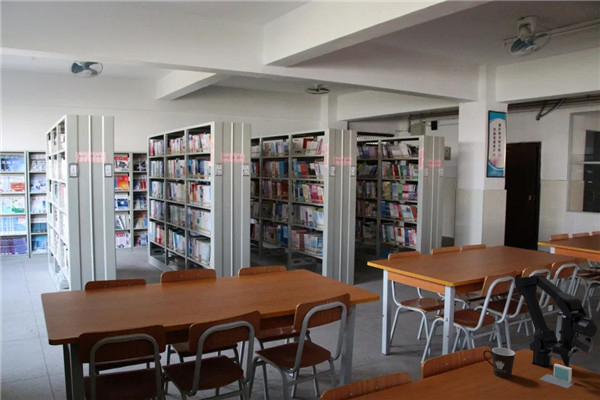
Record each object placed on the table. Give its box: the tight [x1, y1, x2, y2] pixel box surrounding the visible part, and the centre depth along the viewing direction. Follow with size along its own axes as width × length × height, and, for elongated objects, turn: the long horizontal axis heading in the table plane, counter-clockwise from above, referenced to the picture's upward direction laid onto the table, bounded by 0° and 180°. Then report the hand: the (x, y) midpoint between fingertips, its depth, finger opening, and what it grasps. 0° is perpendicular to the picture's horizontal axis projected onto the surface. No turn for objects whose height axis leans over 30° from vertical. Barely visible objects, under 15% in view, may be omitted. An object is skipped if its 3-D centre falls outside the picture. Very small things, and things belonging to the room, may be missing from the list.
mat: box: [539, 373, 576, 389], centre depth 187 cm, size 10×8×1 cm
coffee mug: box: [482, 347, 516, 379], centre depth 193 cm, size 12×9×10 cm
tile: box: [553, 363, 573, 383], centre depth 188 cm, size 6×2×6 cm, turn 41°
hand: (567, 366), depth 191 cm, fingers closed
